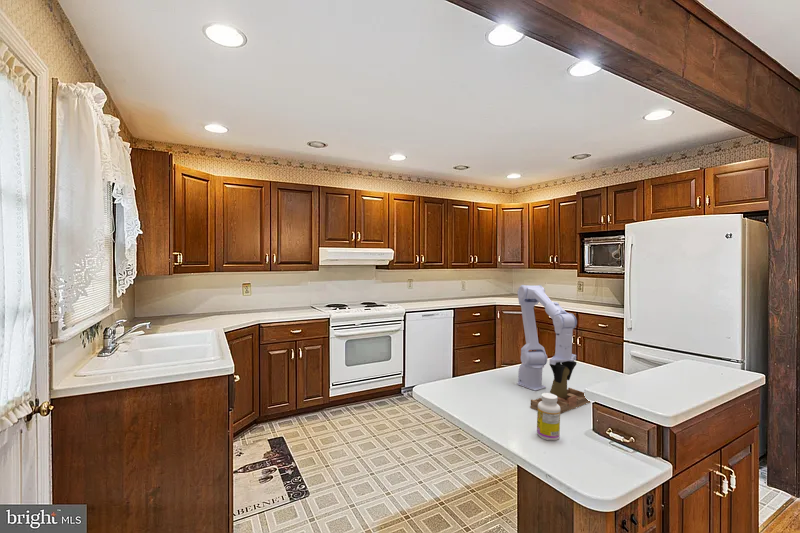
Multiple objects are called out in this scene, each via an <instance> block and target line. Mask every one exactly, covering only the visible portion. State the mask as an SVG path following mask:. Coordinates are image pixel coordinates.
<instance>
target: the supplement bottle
mask: <svg viewBox="0 0 800 533" xmlns="http://www.w3.org/2000/svg"><path fill="white" fill-rule="evenodd" d="M540 398H541V399H542V401H540V402H539V403H538V411H536V412H537V413H536V414H537V417H536V434H537V436H538V437H539V438H541V439H543V440H545V441H556V440H559V438H560V436H561V435H560V431H561V430H560V429H561V426H560V425H561V414H560V410H561V409H560V406H559V405H558V404H557V396H556V395H554V394H551V393H550V392H543V393H541V396H540Z"/></svg>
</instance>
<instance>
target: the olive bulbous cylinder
mask: <svg viewBox="0 0 800 533" xmlns="http://www.w3.org/2000/svg"><path fill="white" fill-rule="evenodd" d="M568 375H569V369H568V368H567V367H565V369H564V371H563V375H562V381H561V383H558V382H555V379H554V378H553V381H552V384H551V388H550V391H549V393H551V394H554V395H556V396H557V397H561V398H566V397H567V389H568V380H567V376H568Z"/></svg>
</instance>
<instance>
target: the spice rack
mask: <svg viewBox="0 0 800 533" xmlns="http://www.w3.org/2000/svg"><path fill="white" fill-rule="evenodd" d="M584 393H585V392H584V391H581V390H578V389H575V388H571V387H567V397H566V398H561V397H557V404H558V405H559V406H560V409H561V410H560V415H561V414H564V413H566V412H569V411H572V410H575V409H576V407H577V408H580V407H582V406H584V404H585V405H587V404H586V403H588V404H590V403H591V402H590V401H588V400H587V399H586V398H585V396H584ZM540 401H542V399H541V397H539V398H536V399H530V408H531V409H532V410H535V411H536V412H538V403H539V402H540ZM579 406H580V407H579ZM571 409H572V410H571Z"/></svg>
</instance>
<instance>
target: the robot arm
mask: <svg viewBox="0 0 800 533" xmlns="http://www.w3.org/2000/svg"><path fill="white" fill-rule="evenodd" d="M517 300H518V304H519V305H520V308H521V316H522V317H521V318H522V323H523V330H524V331H523V332H524V337H525V344H524V345H523V346H522V347H521V348H520V361H521V362H520V363H521V364H520V365H519V368H518V376H517V383H516V385H518V386H520V387H524V388H527V389H529V390H531V391H539V390H543V389H546V388H547V386H546V385H544V384H543V368H545V366H546V365H547V364H548V363H549V366H550V368H551V372H552V374H553V380H554V379H555V382H558V383H561V381H562V375H563V371H564V369H565V367H567V368H568V369H569V375H568V376H567V381H570V379H571V377H572V373H573V372H574V369H575V367H576V365H577V361H576V360H577V354H574V353H573V332H574V329H575V328H577V324H578V320H577V317H576V316H575V315H574V313H571V312H567V311H566V310H565V309H564V308H563V307H562V306H561V305H560V303H559V302H557V301H552V300H551V299H550V297H549V296H548V295H547V294H546V289H545V288H544V287H543V285H541V284H538V285H527V284H526V285H525V284H521V285H520V286H519V287H518V290H517ZM538 304H541V305H542V307H544V311H545V313H546V315H548V316H549V317H550V318H551V319H552V324H553V327H554V332H555V351H554V352H555V353H554V355H553V356H552V357H551V358H549V362H548V355H547V354H546V350H545V347H544V346H543V345H542V344H540V343H539V337H538V330H537V329H538V328H537V323H536V322H537V321H536V314H535V310H534V307H535V306H536V305H538Z"/></svg>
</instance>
